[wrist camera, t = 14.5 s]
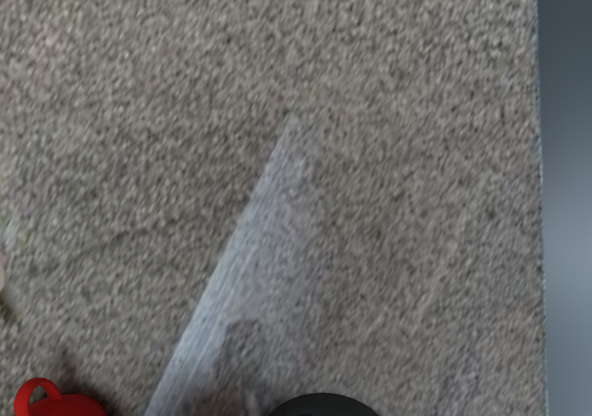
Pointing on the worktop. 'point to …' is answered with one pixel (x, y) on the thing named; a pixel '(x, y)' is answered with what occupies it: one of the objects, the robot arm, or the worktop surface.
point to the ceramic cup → (54, 402)
